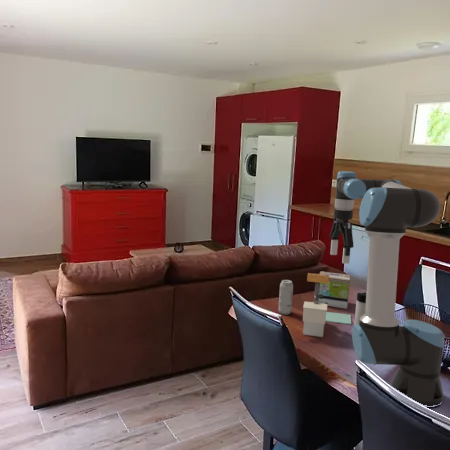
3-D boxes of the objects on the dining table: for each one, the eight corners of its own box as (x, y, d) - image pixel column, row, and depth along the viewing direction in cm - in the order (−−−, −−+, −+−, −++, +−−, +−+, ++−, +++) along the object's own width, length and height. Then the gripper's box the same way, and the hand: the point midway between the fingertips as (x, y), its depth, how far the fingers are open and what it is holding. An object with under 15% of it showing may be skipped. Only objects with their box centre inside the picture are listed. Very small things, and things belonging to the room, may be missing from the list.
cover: (325, 324, 180) (326, 310, 178) (302, 321, 182) (303, 307, 181) (326, 317, 187) (327, 304, 186) (303, 314, 189) (304, 301, 188)
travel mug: (358, 344, 176) (363, 295, 173) (349, 337, 183) (354, 290, 179) (372, 343, 178) (377, 295, 174) (363, 336, 184) (368, 289, 181)
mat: (351, 324, 196) (351, 323, 196) (325, 321, 199) (325, 320, 198) (350, 315, 206) (350, 314, 206) (326, 312, 209) (326, 311, 209)
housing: (322, 337, 182) (324, 322, 181) (303, 334, 184) (304, 320, 183) (324, 322, 197) (325, 309, 196) (305, 320, 199) (306, 306, 198)
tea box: (315, 305, 219) (317, 275, 216) (317, 298, 228) (319, 270, 226) (347, 309, 215) (350, 279, 212) (348, 302, 224) (350, 274, 221)
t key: (325, 318, 185) (328, 281, 183) (303, 315, 188) (306, 279, 185) (326, 310, 195) (329, 275, 192) (305, 307, 197) (307, 273, 194)
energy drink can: (290, 315, 203) (292, 284, 201) (277, 313, 205) (278, 282, 203) (292, 311, 209) (294, 280, 206) (279, 309, 211) (281, 278, 208)
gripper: (365, 214, 174) (360, 267, 177) (341, 204, 198) (337, 251, 202) (346, 213, 173) (342, 267, 177) (324, 204, 197) (321, 251, 201)
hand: (339, 258), depth 189 cm, fingers open, 13 cm apart
